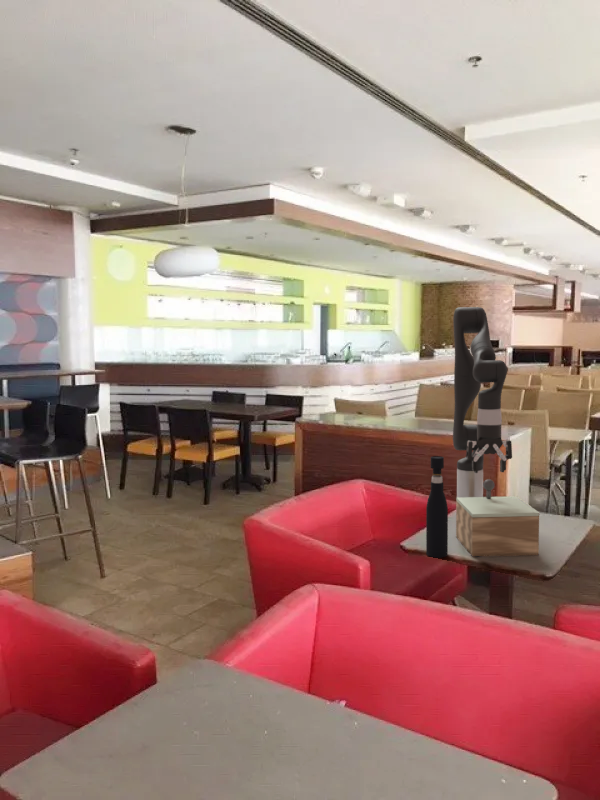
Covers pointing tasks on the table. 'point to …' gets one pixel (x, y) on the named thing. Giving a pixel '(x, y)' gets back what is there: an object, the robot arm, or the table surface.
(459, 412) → the robot arm
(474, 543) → the crate
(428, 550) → the wine bottle
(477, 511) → the lid
